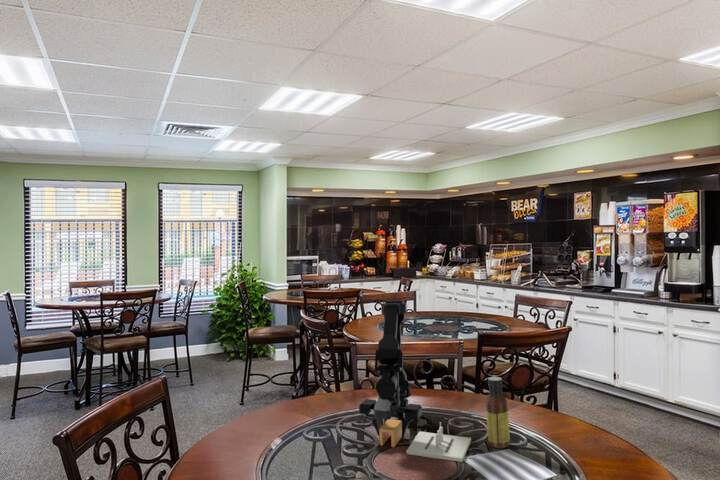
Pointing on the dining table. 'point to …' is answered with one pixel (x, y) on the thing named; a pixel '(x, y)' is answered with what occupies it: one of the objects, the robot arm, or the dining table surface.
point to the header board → (439, 446)
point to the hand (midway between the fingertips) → (391, 436)
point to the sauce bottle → (497, 415)
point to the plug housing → (391, 432)
